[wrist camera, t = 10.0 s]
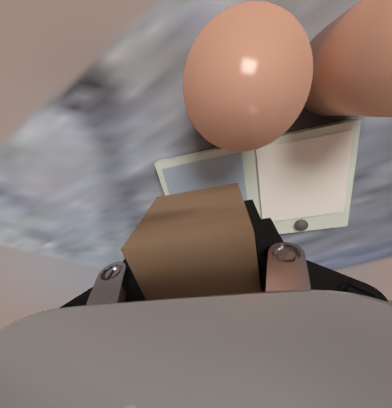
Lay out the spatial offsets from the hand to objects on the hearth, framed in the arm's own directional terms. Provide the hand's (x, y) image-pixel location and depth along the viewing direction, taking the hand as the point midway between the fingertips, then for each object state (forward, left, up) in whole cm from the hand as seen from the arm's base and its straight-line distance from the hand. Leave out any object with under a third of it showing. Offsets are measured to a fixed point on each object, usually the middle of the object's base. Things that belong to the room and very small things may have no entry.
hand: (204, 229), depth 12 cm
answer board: (-4, 0, -5) cm, 6 cm away
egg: (-3, -7, -5) cm, 9 cm away
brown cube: (0, 0, 0) cm, 0 cm away
